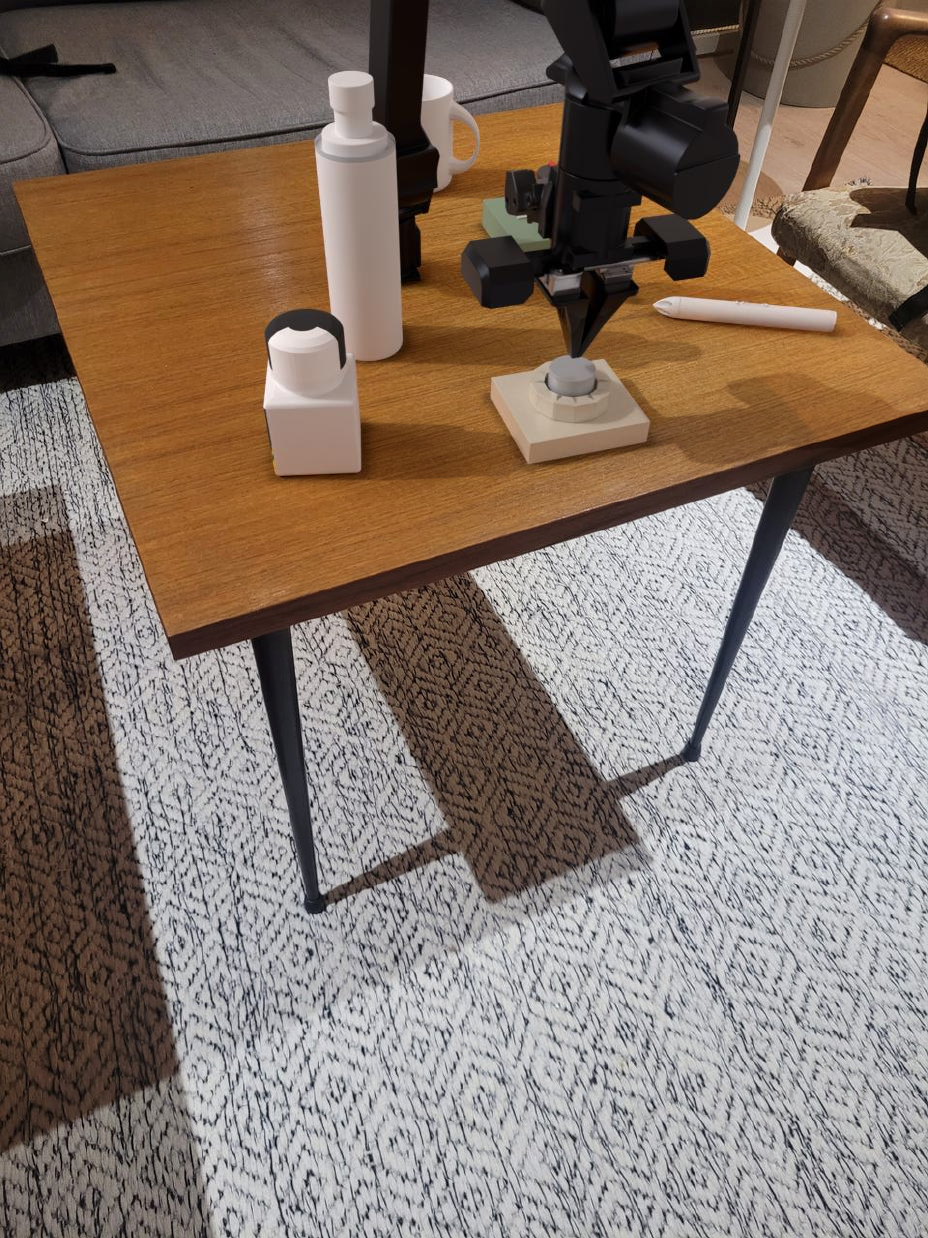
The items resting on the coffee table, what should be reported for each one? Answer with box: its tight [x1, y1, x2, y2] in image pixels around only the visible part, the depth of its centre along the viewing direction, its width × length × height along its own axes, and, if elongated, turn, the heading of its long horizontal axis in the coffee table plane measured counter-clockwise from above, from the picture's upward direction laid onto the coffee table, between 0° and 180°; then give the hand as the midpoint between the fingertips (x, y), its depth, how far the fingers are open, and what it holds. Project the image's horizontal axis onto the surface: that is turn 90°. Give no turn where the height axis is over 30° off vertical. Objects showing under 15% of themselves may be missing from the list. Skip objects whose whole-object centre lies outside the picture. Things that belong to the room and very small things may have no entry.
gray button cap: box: [548, 354, 596, 397], centre depth 79 cm, size 4×4×2 cm
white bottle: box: [314, 70, 404, 362], centre depth 80 cm, size 7×7×25 cm
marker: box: [652, 295, 838, 333], centre depth 92 cm, size 18×2×2 cm, turn 82°
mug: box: [421, 73, 481, 194], centre depth 110 cm, size 9×12×11 cm
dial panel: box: [481, 196, 551, 252], centre depth 103 cm, size 13×11×3 cm
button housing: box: [490, 358, 651, 465], centre depth 80 cm, size 11×10×4 cm
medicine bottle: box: [262, 308, 362, 477], centre depth 74 cm, size 7×7×12 cm
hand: (574, 355), depth 77 cm, fingers closed
